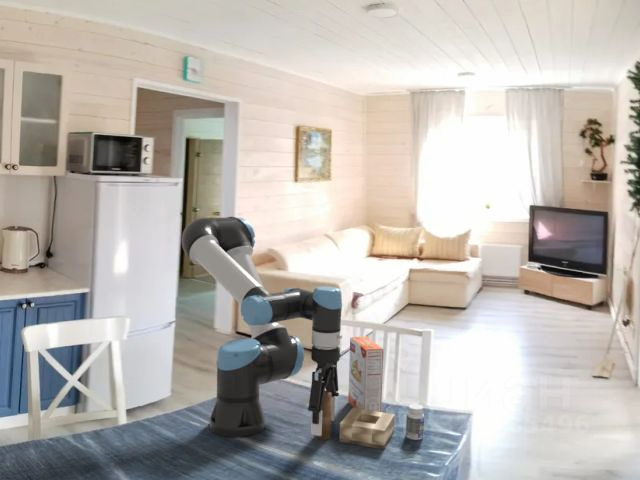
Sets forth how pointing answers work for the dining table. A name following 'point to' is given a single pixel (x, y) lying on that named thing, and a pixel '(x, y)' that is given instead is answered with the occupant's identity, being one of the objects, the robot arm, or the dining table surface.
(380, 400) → the cracker box
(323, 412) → the pin
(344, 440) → the bore block
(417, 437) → the pill bottle
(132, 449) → the dining table surface
